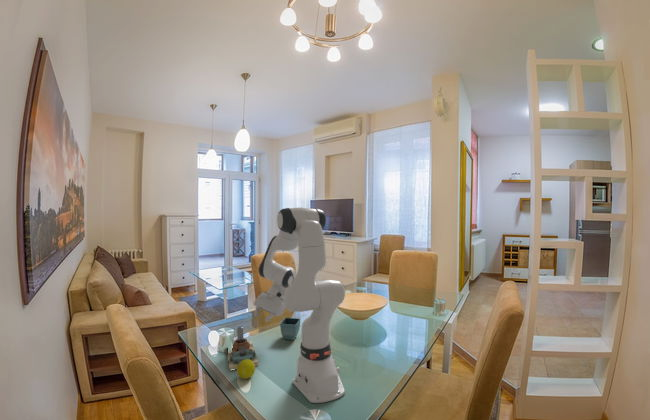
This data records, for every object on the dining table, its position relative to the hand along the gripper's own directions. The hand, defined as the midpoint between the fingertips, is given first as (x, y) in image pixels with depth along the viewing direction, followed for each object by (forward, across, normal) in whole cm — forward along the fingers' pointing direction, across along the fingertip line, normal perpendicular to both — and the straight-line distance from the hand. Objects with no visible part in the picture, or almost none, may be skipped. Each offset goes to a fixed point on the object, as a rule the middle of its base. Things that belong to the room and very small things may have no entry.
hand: (260, 318), depth 148 cm
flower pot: (-1, +7, +19) cm, 20 cm away
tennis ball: (+24, +20, -7) cm, 32 cm away
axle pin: (+16, 0, 0) cm, 16 cm away
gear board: (+18, +4, -1) cm, 19 cm away
